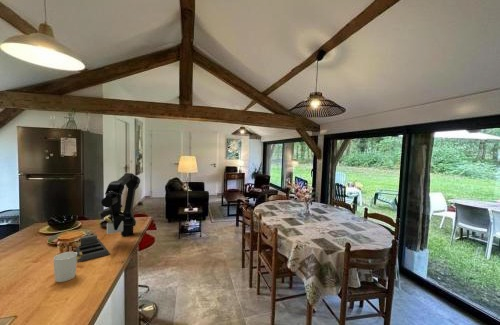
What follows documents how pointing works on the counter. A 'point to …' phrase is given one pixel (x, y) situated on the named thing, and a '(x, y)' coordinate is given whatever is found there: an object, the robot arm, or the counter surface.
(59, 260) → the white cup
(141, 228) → the counter surface
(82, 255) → the rack
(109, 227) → the panel
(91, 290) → the counter surface
